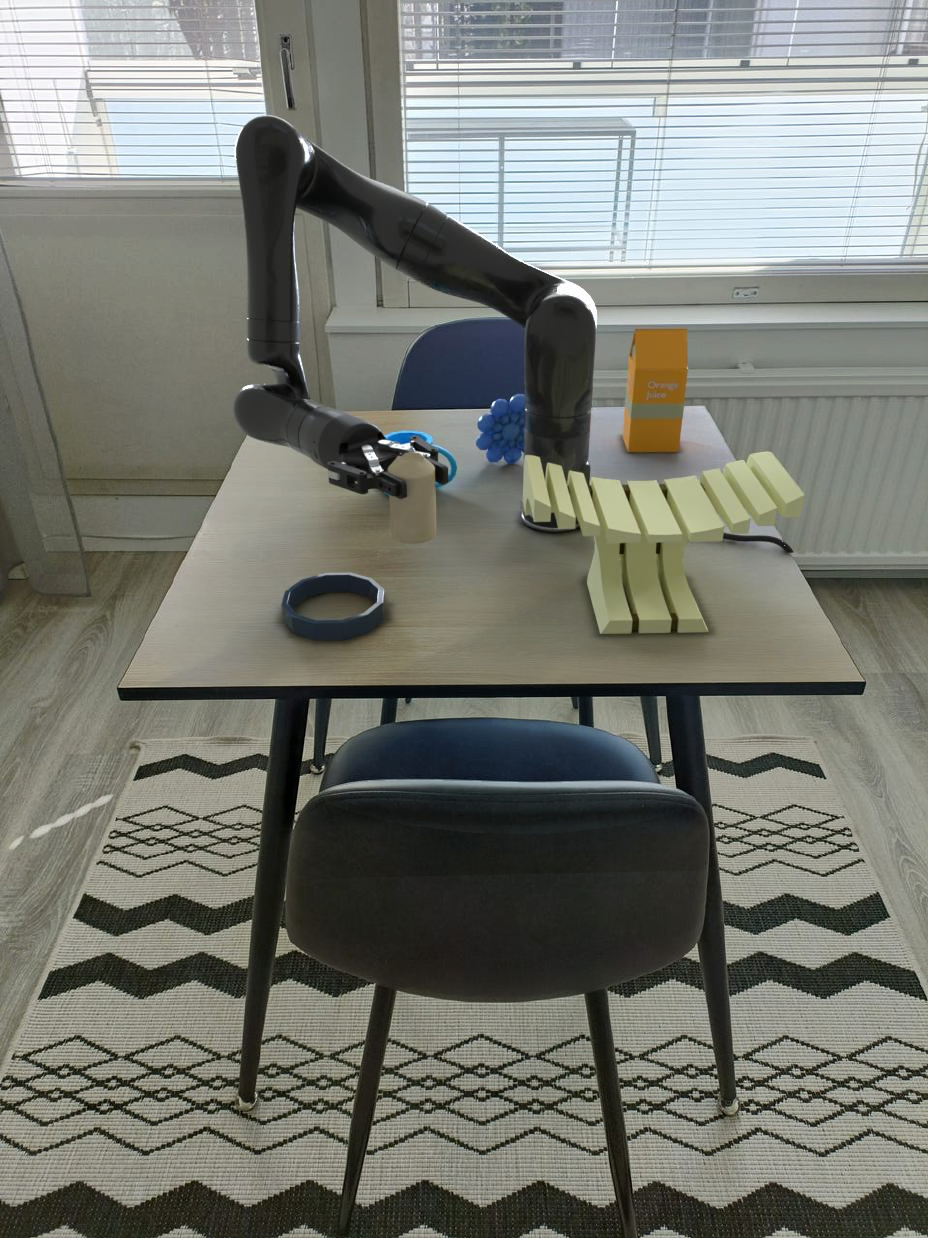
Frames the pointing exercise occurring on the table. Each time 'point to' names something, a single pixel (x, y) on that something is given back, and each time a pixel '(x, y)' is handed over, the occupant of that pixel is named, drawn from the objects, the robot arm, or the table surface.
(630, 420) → the orange juice
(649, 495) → the slatted curved stool
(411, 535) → the candle
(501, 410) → the blue ball flower
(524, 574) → the table surface
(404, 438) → the mug
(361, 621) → the ring
